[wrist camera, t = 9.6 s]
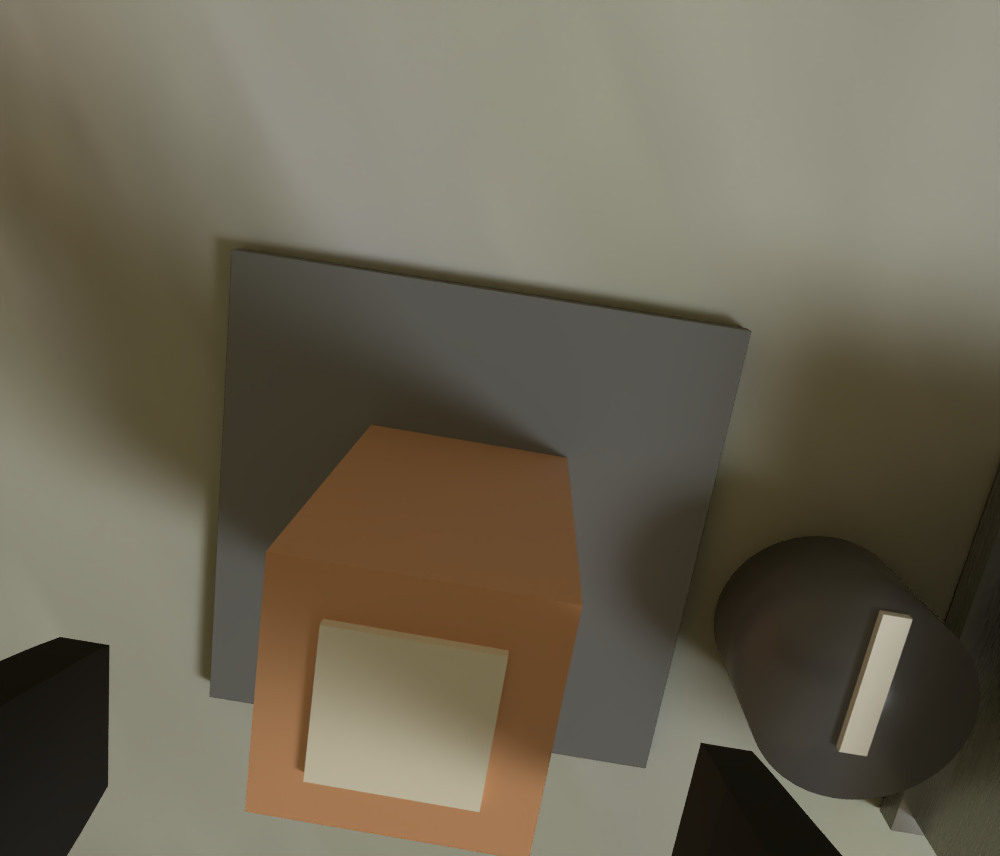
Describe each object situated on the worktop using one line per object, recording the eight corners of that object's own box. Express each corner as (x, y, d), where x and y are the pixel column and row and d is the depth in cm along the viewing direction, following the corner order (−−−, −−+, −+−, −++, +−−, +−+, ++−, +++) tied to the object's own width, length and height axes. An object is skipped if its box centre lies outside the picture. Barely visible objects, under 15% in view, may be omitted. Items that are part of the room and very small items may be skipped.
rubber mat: (643, 756, 17) (645, 768, 17) (216, 686, 17) (209, 696, 17) (745, 328, 15) (751, 331, 14) (239, 249, 15) (232, 249, 14)
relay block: (533, 631, 16) (528, 869, 10) (350, 600, 16) (241, 819, 10) (567, 457, 15) (583, 611, 9) (371, 425, 15) (261, 555, 9)
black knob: (872, 713, 17) (944, 821, 14) (695, 684, 17) (728, 786, 14) (926, 551, 16) (1017, 630, 13) (737, 521, 16) (782, 592, 13)
